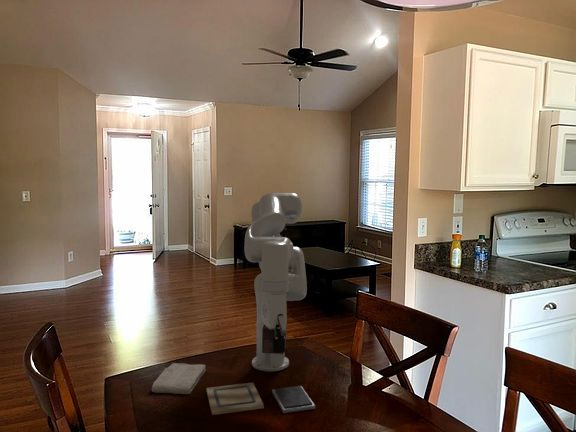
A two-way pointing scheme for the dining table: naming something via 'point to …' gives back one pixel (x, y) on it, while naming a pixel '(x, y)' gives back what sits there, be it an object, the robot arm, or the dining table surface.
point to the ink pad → (293, 399)
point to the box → (269, 340)
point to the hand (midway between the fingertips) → (274, 346)
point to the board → (233, 398)
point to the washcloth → (178, 378)
